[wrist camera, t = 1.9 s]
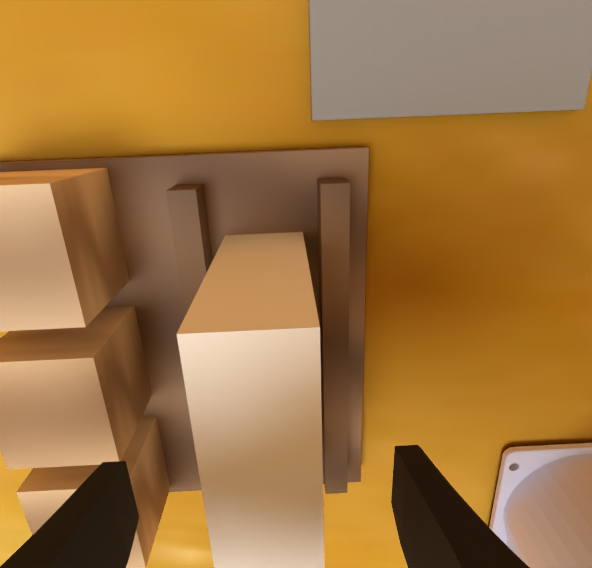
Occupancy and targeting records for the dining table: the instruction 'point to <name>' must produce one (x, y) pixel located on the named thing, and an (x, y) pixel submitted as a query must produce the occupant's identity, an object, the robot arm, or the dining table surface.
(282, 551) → the cream rectangular block
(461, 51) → the mat
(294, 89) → the dining table surface
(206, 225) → the rack
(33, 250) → the offcut
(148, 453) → the offcut
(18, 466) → the block
